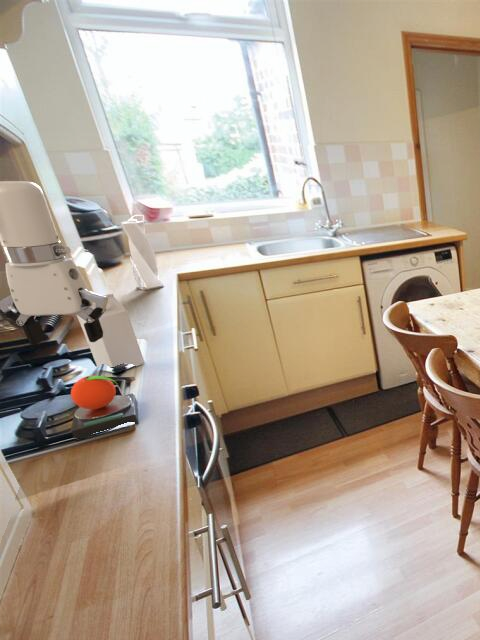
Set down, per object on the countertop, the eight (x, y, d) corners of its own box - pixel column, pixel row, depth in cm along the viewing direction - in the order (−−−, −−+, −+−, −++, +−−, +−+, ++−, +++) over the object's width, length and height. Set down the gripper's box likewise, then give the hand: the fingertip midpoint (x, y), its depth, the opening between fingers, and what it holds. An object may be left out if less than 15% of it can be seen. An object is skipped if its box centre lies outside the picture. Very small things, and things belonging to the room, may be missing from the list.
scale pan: (77, 407, 98) (75, 404, 98) (131, 394, 103) (130, 390, 103) (74, 427, 91) (72, 423, 91) (132, 411, 97) (131, 408, 96)
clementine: (132, 395, 101) (121, 366, 98) (118, 411, 95) (106, 381, 92) (87, 401, 99) (75, 371, 96) (70, 418, 93) (57, 387, 90)
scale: (79, 417, 99) (73, 405, 98) (137, 402, 105) (133, 391, 104) (75, 441, 91) (70, 429, 90) (138, 424, 97) (134, 412, 96)
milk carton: (98, 370, 119) (70, 299, 112) (128, 358, 125) (103, 291, 118) (115, 375, 117) (88, 303, 109) (145, 363, 123) (121, 294, 115)
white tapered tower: (161, 282, 191) (139, 213, 180) (169, 286, 187) (147, 214, 176) (136, 287, 185) (112, 215, 174) (144, 291, 180) (120, 217, 169)
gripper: (103, 248, 89) (129, 331, 96) (-6, 250, 85) (29, 336, 92) (78, 257, 82) (108, 346, 89) (-41, 259, 79) (-1, 351, 85)
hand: (68, 341), depth 90 cm, fingers open, 9 cm apart
